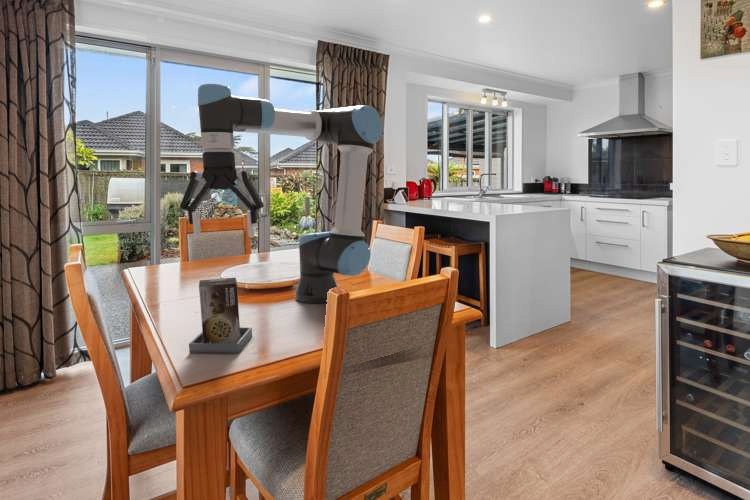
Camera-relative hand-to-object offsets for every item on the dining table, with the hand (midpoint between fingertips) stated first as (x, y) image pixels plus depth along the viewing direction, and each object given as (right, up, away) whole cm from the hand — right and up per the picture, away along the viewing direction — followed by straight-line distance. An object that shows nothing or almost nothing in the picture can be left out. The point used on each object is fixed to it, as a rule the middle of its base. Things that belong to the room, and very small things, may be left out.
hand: (224, 237), depth 116 cm
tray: (-1, -28, +1) cm, 28 cm away
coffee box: (-1, -27, +1) cm, 27 cm away
